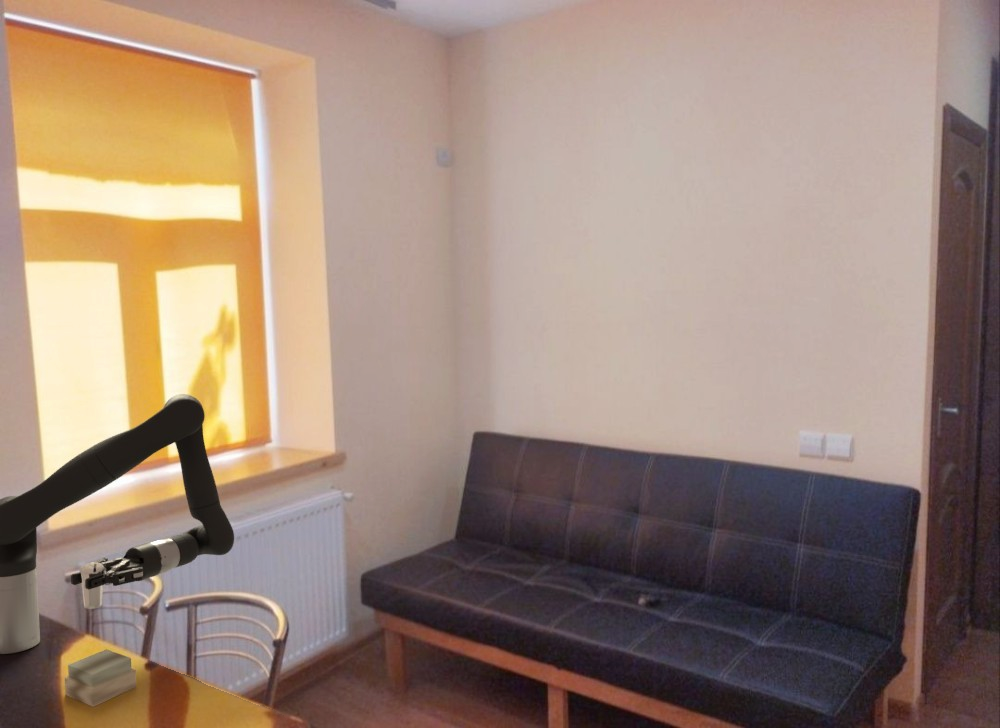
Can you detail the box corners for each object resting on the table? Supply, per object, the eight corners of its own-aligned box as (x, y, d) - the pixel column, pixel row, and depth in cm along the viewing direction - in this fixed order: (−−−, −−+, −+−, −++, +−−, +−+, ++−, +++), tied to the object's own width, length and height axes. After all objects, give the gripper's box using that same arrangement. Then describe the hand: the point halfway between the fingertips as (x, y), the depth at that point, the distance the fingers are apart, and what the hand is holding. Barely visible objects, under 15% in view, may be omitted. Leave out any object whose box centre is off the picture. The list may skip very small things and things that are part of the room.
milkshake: (84, 613, 162) (83, 566, 161) (78, 604, 166) (76, 558, 165) (108, 608, 165) (107, 561, 164) (102, 599, 169) (100, 554, 168)
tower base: (65, 695, 154) (64, 665, 154) (108, 676, 162) (107, 647, 162) (93, 706, 150) (91, 676, 149) (136, 686, 157) (134, 657, 157)
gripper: (132, 537, 181) (58, 558, 166) (172, 547, 173) (99, 570, 159) (133, 569, 181) (59, 593, 167) (173, 581, 174) (100, 607, 159)
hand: (79, 582), depth 163 cm, fingers closed on milkshake, 4 cm apart
